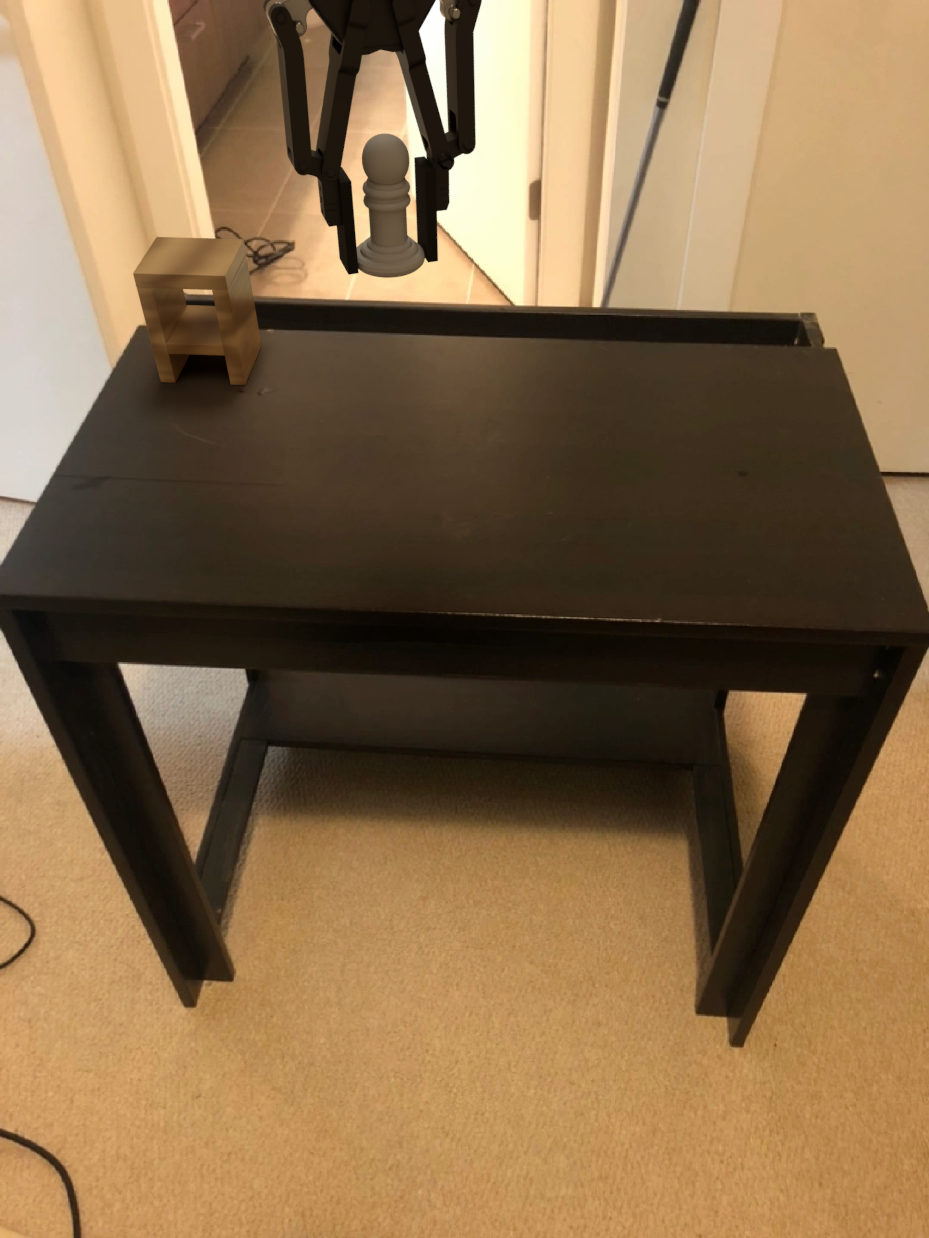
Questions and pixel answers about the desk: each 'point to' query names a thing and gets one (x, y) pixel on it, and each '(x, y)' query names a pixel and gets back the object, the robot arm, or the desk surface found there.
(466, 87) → the robot arm
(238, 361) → the shelf
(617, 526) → the desk surface
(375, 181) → the chess piece
